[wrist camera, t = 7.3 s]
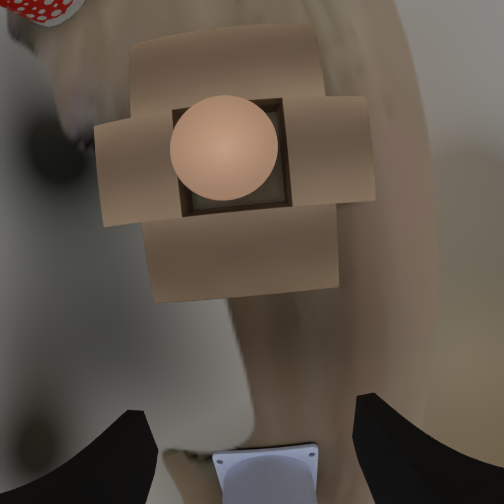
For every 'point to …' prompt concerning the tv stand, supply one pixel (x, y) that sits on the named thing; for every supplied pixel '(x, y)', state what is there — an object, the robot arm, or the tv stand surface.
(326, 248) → the socket block
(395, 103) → the tv stand surface
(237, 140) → the peg
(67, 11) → the beverage cup
